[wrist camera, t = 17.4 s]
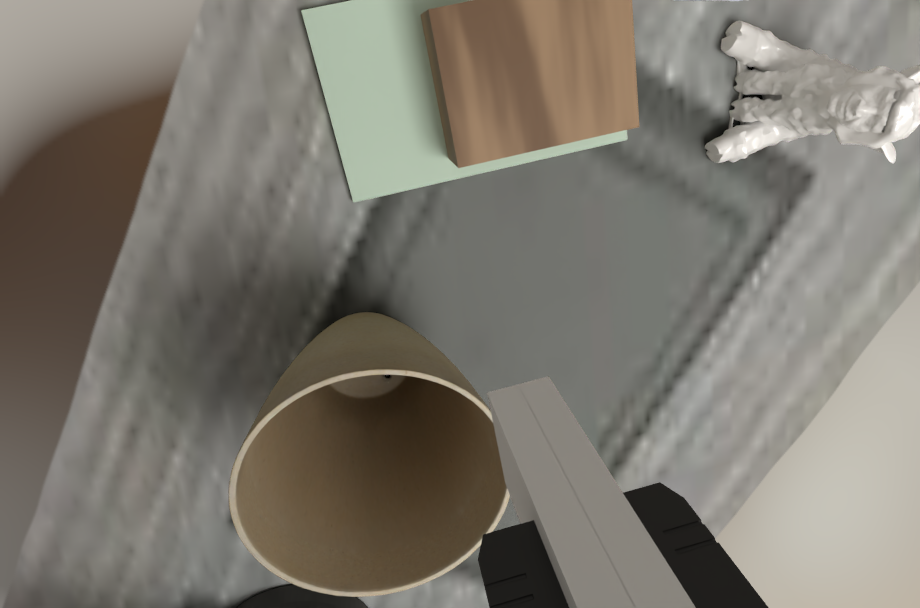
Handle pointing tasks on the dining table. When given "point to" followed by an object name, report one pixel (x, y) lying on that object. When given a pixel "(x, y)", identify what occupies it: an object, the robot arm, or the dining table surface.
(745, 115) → the seated beast figurine
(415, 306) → the dining table surface
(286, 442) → the plant pot
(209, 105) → the dining table surface
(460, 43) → the walnut slab
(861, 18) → the dining table surface
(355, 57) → the mat
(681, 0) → the white mug
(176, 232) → the dining table surface
